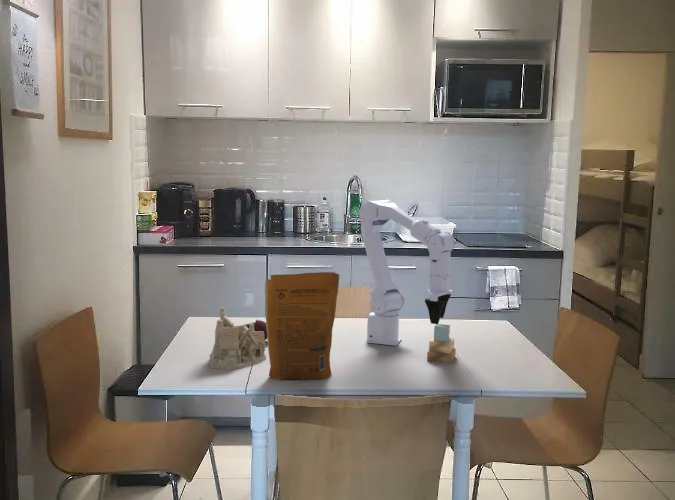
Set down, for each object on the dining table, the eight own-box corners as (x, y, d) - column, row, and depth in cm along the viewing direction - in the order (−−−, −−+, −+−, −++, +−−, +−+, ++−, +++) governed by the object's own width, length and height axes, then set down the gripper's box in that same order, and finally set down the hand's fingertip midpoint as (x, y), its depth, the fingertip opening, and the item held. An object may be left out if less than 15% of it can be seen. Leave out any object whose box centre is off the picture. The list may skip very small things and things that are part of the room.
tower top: (428, 351, 195) (429, 341, 195) (433, 345, 201) (433, 335, 201) (449, 353, 193) (450, 343, 193) (453, 348, 199) (454, 338, 199)
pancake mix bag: (338, 381, 176) (341, 274, 172) (264, 382, 174) (264, 274, 170) (335, 373, 183) (338, 269, 179) (263, 374, 180) (264, 269, 176)
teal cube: (433, 340, 195) (434, 327, 195) (435, 337, 199) (436, 323, 198) (447, 342, 194) (448, 328, 194) (449, 338, 198) (450, 325, 197)
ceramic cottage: (203, 369, 183) (207, 313, 182) (214, 353, 199) (217, 302, 198) (262, 373, 183) (266, 318, 182) (267, 357, 200) (271, 307, 198)
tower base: (427, 362, 195) (427, 352, 195) (431, 355, 202) (431, 345, 201) (451, 365, 193) (452, 354, 193) (455, 358, 200) (455, 348, 199)
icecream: (230, 324, 206) (280, 329, 206) (235, 312, 213) (283, 317, 213) (229, 344, 209) (279, 349, 209) (234, 332, 216) (282, 337, 216)
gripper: (448, 280, 190) (446, 327, 192) (457, 271, 203) (455, 316, 205) (423, 277, 192) (421, 325, 194) (433, 269, 205) (431, 313, 207)
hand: (437, 320), depth 200 cm, fingers open, 7 cm apart
